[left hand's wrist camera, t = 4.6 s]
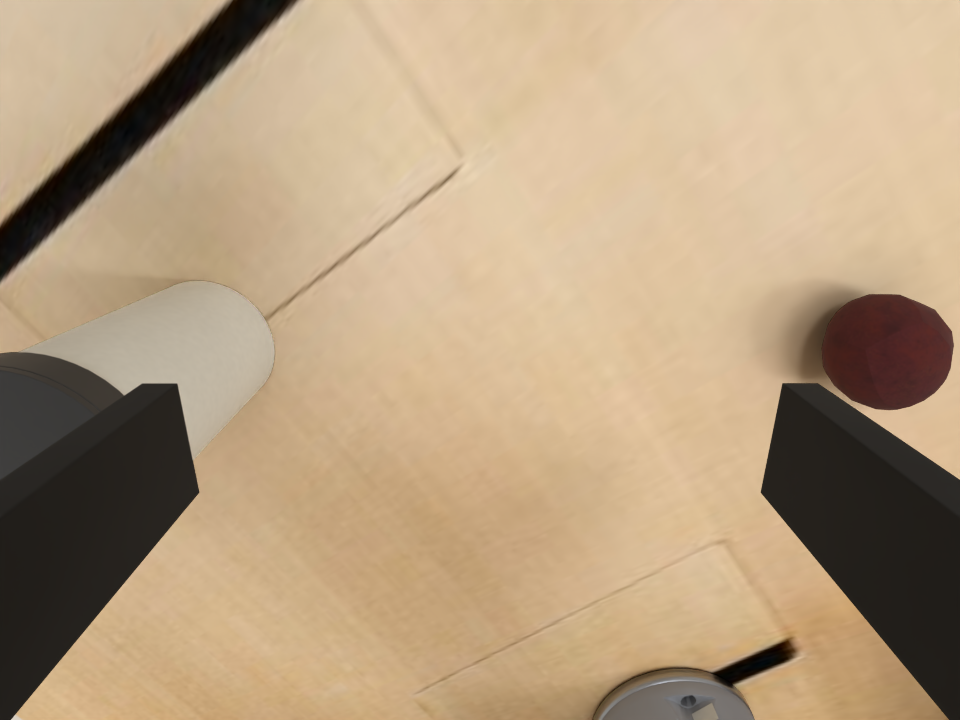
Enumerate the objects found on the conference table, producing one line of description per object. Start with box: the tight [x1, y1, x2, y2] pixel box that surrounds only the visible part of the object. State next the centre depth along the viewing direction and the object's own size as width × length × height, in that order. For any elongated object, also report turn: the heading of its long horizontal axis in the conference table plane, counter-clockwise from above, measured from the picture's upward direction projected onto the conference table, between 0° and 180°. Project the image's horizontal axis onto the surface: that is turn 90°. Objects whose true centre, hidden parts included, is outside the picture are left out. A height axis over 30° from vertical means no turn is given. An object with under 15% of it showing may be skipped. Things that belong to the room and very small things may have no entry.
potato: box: [822, 294, 954, 410], centre depth 37 cm, size 7×8×7 cm
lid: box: [0, 352, 124, 480], centre depth 25 cm, size 10×10×2 cm
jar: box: [20, 281, 275, 460], centre depth 33 cm, size 10×10×18 cm
